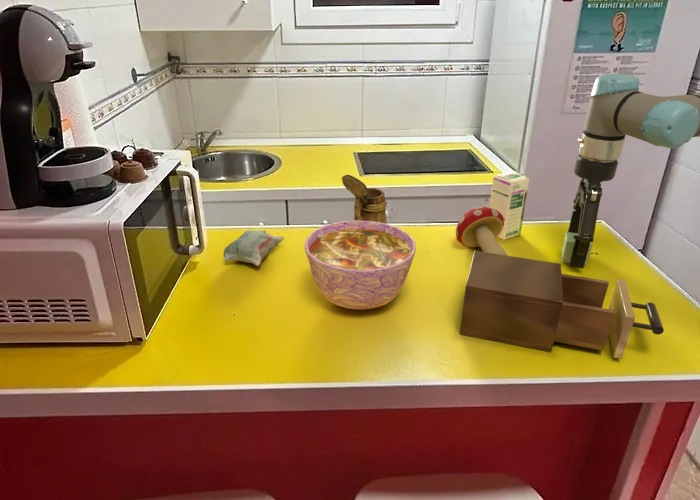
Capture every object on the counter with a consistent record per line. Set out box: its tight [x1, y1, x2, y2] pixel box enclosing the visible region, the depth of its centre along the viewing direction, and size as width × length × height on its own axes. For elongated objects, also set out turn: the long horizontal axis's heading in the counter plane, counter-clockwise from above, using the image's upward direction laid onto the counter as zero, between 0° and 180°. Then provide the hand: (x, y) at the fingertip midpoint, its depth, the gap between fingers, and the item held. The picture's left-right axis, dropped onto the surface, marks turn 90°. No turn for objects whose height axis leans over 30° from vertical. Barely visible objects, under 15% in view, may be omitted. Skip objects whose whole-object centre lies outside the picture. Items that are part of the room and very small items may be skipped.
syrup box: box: [489, 170, 530, 241], centre depth 120 cm, size 6×6×14 cm
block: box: [561, 231, 593, 267], centre depth 111 cm, size 5×5×5 cm
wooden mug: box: [341, 174, 388, 224], centre depth 115 cm, size 9×14×18 cm, turn 145°
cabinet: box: [459, 250, 563, 353], centre depth 89 cm, size 15×13×10 cm
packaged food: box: [223, 230, 285, 267], centre depth 111 cm, size 9×12×5 cm
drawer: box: [554, 273, 665, 360], centre depth 86 cm, size 19×12×8 cm, turn 72°
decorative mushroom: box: [455, 206, 508, 256], centre depth 112 cm, size 11×11×15 cm
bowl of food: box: [303, 219, 417, 311], centre depth 96 cm, size 20×20×12 cm
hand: (574, 251), depth 112 cm, fingers open, 13 cm apart
